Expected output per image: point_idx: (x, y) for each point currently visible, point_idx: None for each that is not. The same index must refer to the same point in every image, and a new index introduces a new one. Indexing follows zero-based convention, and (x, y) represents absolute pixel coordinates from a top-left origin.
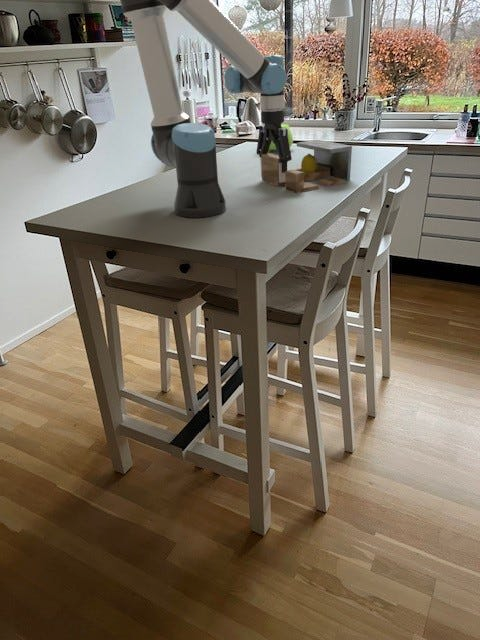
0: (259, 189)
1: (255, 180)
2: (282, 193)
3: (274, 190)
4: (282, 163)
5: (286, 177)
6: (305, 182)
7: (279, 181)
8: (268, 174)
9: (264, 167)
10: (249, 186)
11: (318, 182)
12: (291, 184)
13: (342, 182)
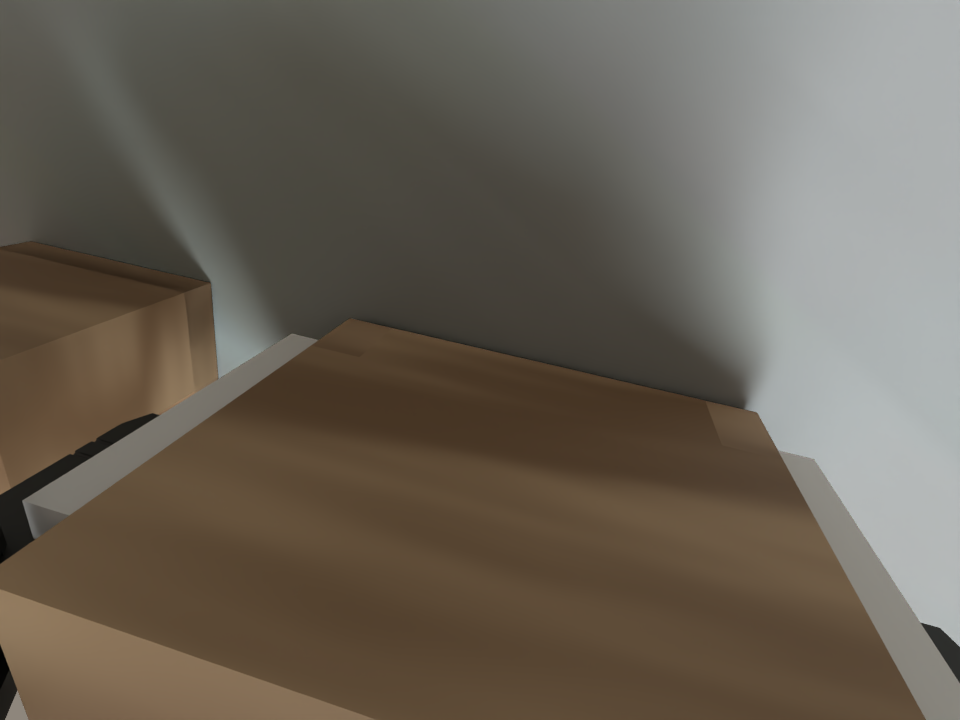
0: (430, 39)
1: (907, 402)
2: (80, 123)
3: (249, 159)
4: (21, 515)
5: (55, 323)
6: None
7: (298, 341)
8: (568, 430)
9: (719, 534)
10: (720, 51)
11: None
12: (28, 278)
13: None
